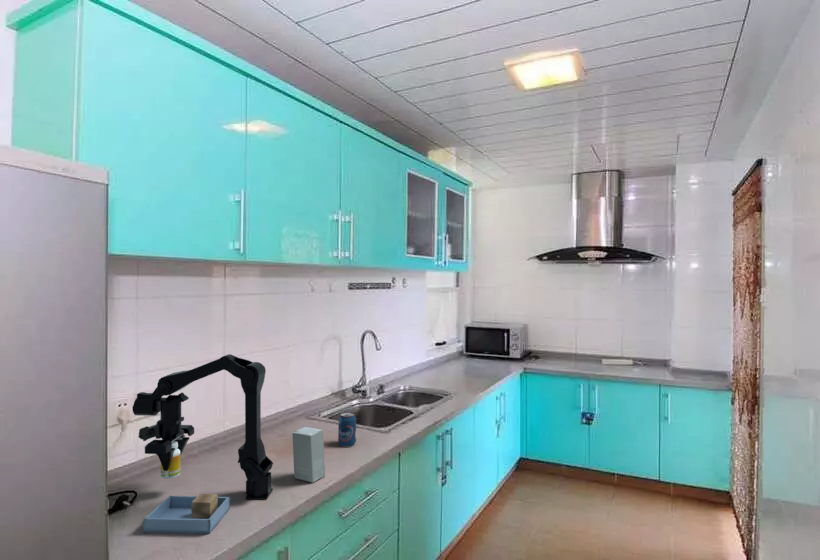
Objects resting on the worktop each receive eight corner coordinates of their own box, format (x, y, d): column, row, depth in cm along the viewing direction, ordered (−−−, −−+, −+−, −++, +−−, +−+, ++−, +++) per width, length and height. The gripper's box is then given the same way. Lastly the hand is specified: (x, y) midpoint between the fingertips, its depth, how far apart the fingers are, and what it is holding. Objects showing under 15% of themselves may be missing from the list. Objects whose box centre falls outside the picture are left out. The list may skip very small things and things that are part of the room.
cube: (217, 512, 136) (217, 494, 136) (210, 521, 131) (210, 502, 131) (199, 511, 136) (199, 493, 136) (191, 520, 131) (191, 502, 131)
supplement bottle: (183, 471, 152) (183, 440, 152) (175, 479, 146) (175, 446, 146) (165, 471, 152) (165, 440, 151) (157, 479, 146) (157, 446, 146)
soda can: (337, 447, 190) (337, 416, 189) (339, 441, 196) (339, 411, 196) (355, 447, 190) (355, 416, 190) (356, 441, 197) (356, 411, 197)
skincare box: (325, 476, 162) (326, 429, 162) (310, 484, 156) (311, 435, 156) (306, 471, 167) (306, 424, 166) (291, 478, 160) (291, 430, 160)
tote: (229, 509, 139) (229, 497, 139) (209, 533, 126) (209, 520, 126) (169, 508, 140) (169, 495, 140) (143, 532, 126) (143, 518, 126)
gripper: (160, 406, 158) (160, 455, 158) (126, 424, 140) (126, 479, 140) (195, 407, 158) (194, 455, 158) (165, 425, 139) (164, 479, 140)
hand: (170, 466), depth 149 cm, fingers closed on supplement bottle, 5 cm apart
